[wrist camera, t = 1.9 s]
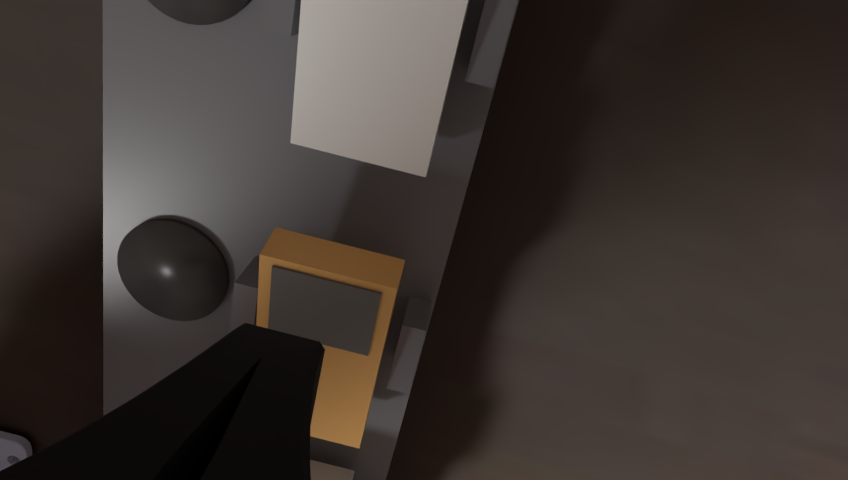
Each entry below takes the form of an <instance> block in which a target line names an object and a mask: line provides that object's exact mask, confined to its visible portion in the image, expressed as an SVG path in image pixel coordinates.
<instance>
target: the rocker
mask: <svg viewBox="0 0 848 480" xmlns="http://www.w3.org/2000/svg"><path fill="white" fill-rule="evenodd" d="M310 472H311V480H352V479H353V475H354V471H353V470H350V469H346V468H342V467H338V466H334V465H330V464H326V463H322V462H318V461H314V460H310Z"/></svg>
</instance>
